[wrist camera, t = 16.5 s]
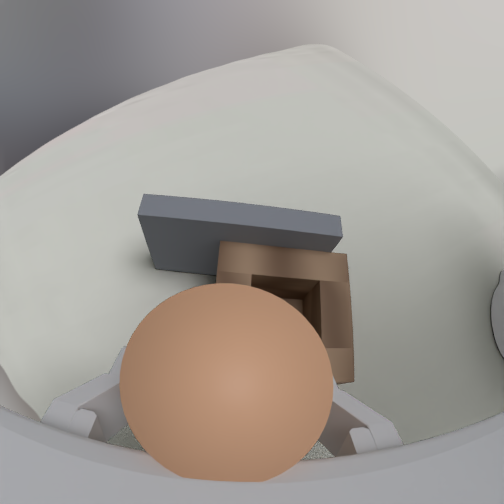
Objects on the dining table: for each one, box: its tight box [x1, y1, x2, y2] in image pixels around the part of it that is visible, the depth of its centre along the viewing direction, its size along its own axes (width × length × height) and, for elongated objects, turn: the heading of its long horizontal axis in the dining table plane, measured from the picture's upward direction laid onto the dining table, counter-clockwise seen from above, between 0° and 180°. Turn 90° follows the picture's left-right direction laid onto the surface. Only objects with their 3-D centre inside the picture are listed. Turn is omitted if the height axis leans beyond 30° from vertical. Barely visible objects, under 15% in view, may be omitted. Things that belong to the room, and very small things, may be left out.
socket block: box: [216, 241, 354, 385], centre depth 26 cm, size 11×11×7 cm
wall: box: [138, 194, 343, 275], centre depth 28 cm, size 16×2×10 cm, turn 88°
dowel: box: [119, 283, 333, 482], centre depth 10 cm, size 4×4×11 cm
